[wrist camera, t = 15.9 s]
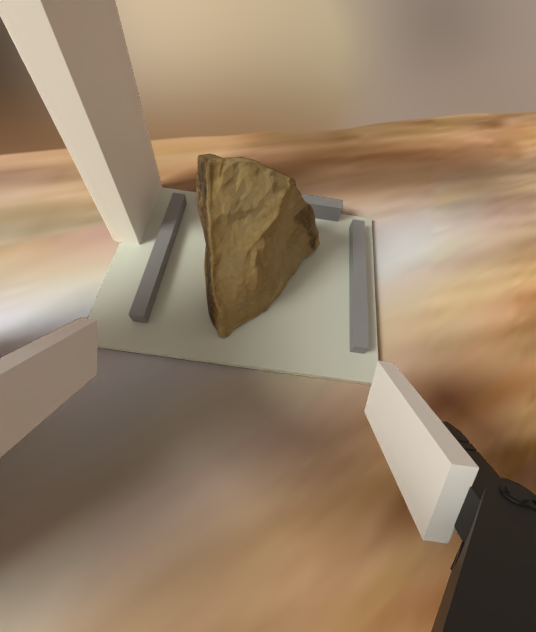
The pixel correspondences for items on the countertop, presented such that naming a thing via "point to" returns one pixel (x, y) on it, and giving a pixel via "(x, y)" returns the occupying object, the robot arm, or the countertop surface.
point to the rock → (249, 236)
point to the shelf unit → (183, 220)
